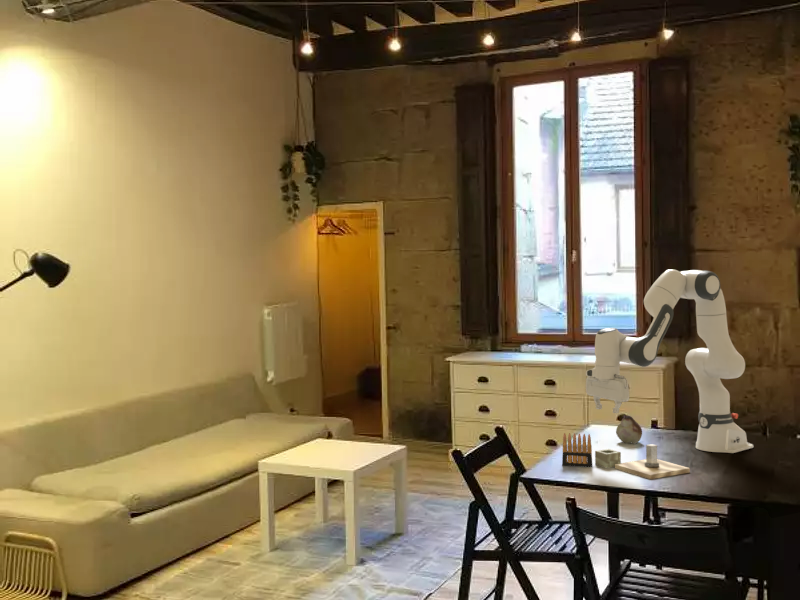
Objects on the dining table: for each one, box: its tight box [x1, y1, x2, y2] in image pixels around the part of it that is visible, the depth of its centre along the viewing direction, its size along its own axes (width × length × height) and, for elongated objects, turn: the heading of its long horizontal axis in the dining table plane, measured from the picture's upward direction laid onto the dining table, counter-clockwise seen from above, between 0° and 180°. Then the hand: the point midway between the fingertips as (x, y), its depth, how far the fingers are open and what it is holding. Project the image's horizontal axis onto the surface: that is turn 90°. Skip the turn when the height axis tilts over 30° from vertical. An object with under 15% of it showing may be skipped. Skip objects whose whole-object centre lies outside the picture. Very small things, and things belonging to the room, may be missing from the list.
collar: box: [594, 448, 622, 469], centre depth 317 cm, size 6×6×5 cm
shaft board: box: [614, 443, 691, 480], centre depth 308 cm, size 18×18×9 cm
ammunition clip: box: [561, 432, 593, 468], centre depth 317 cm, size 11×2×12 cm, turn 72°
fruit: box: [615, 414, 643, 445], centre depth 354 cm, size 10×9×12 cm
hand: (607, 410), depth 317 cm, fingers open, 8 cm apart
